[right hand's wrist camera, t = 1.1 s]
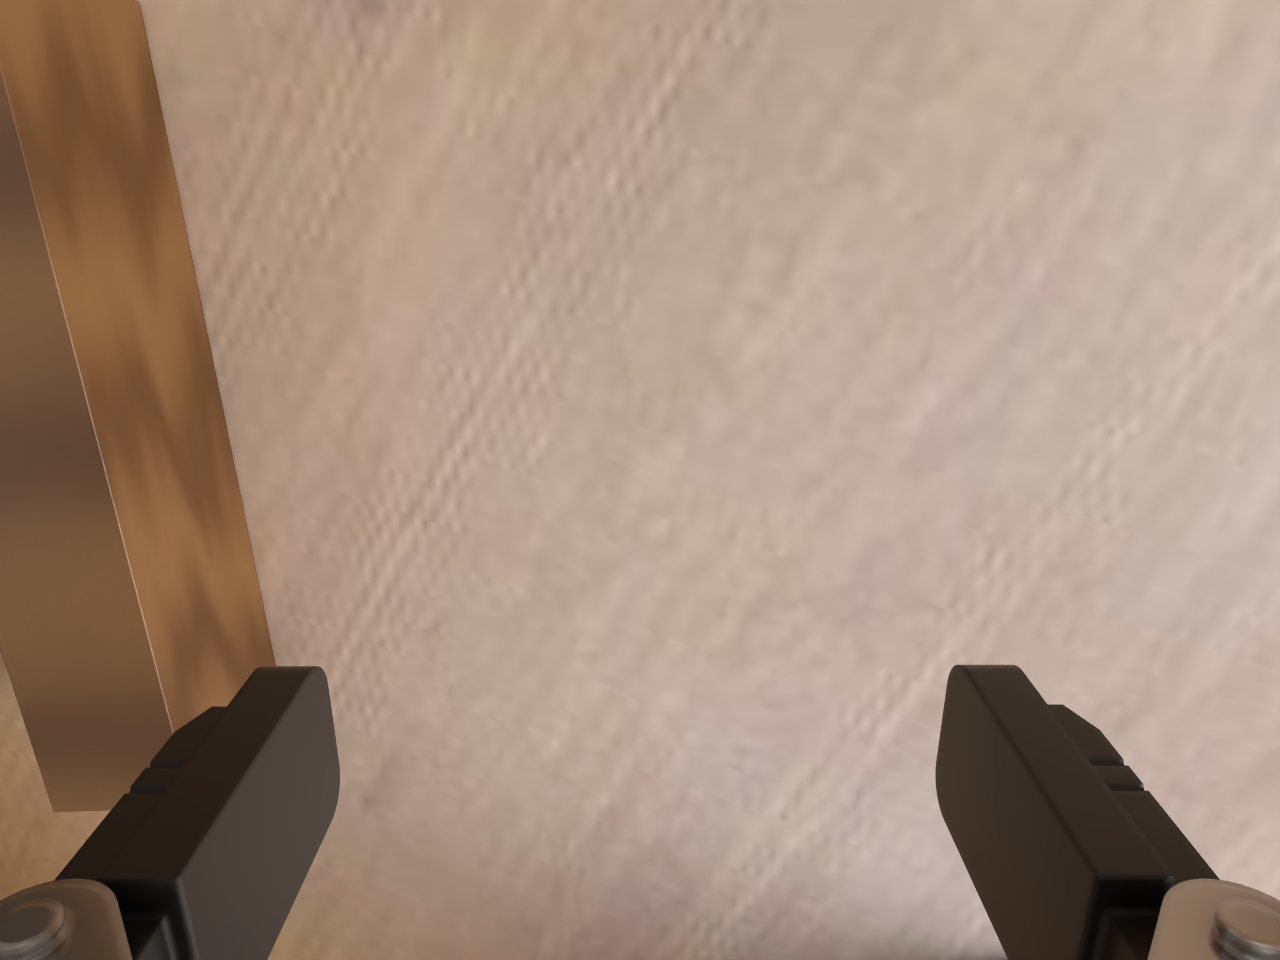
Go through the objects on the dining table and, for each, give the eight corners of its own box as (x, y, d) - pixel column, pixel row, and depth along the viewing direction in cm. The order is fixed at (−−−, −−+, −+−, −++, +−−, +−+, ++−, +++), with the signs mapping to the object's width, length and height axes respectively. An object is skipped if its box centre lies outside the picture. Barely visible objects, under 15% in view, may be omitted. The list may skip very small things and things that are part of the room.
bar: (279, 682, 38) (192, 808, 31) (166, 686, 38) (53, 812, 31) (140, 1, 29) (-30, -53, 22) (-7, 7, 29) (-227, -44, 22)
